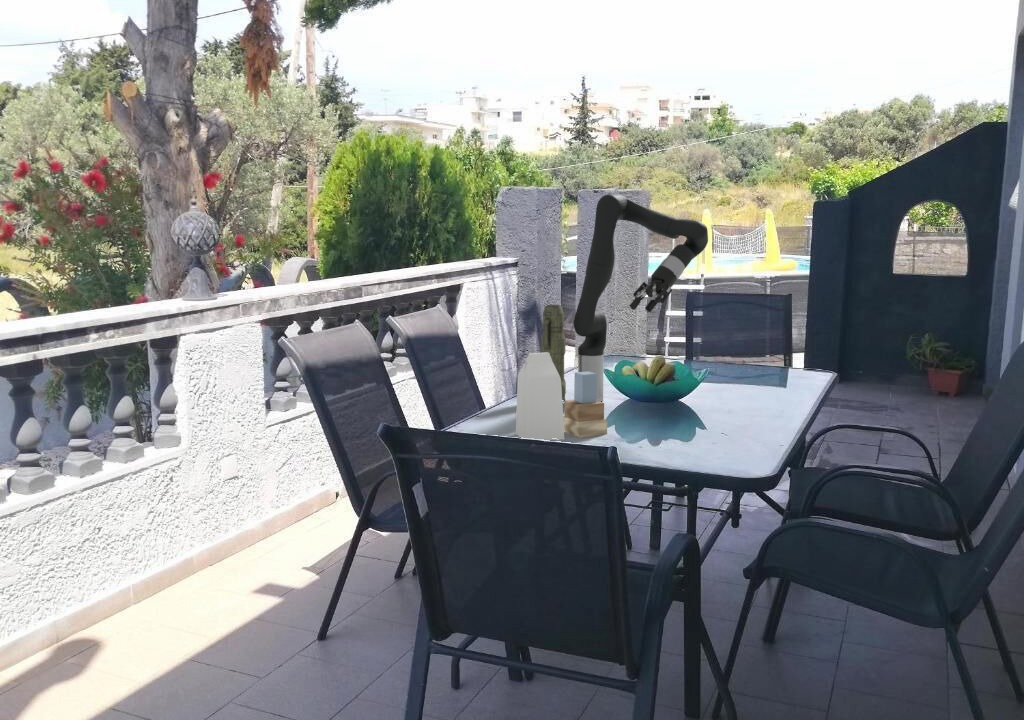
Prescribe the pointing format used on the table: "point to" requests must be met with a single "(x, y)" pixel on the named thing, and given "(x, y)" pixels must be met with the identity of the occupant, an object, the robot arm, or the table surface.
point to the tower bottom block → (585, 427)
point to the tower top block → (584, 410)
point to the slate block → (585, 387)
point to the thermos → (554, 339)
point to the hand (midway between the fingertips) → (639, 309)
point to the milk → (539, 399)
